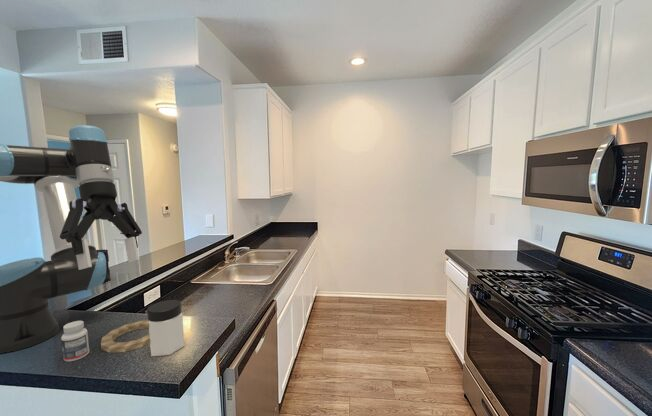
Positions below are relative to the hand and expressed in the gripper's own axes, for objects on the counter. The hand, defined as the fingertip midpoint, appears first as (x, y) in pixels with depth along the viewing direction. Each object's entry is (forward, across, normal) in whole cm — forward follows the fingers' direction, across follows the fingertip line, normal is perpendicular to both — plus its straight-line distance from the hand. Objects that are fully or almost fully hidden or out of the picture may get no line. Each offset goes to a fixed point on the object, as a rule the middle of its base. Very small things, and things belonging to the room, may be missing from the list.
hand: (112, 264), depth 72 cm
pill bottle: (+21, +3, +19) cm, 28 cm away
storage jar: (0, +55, +66) cm, 86 cm away
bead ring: (+21, +13, +11) cm, 27 cm away
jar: (+26, +9, -2) cm, 27 cm away
